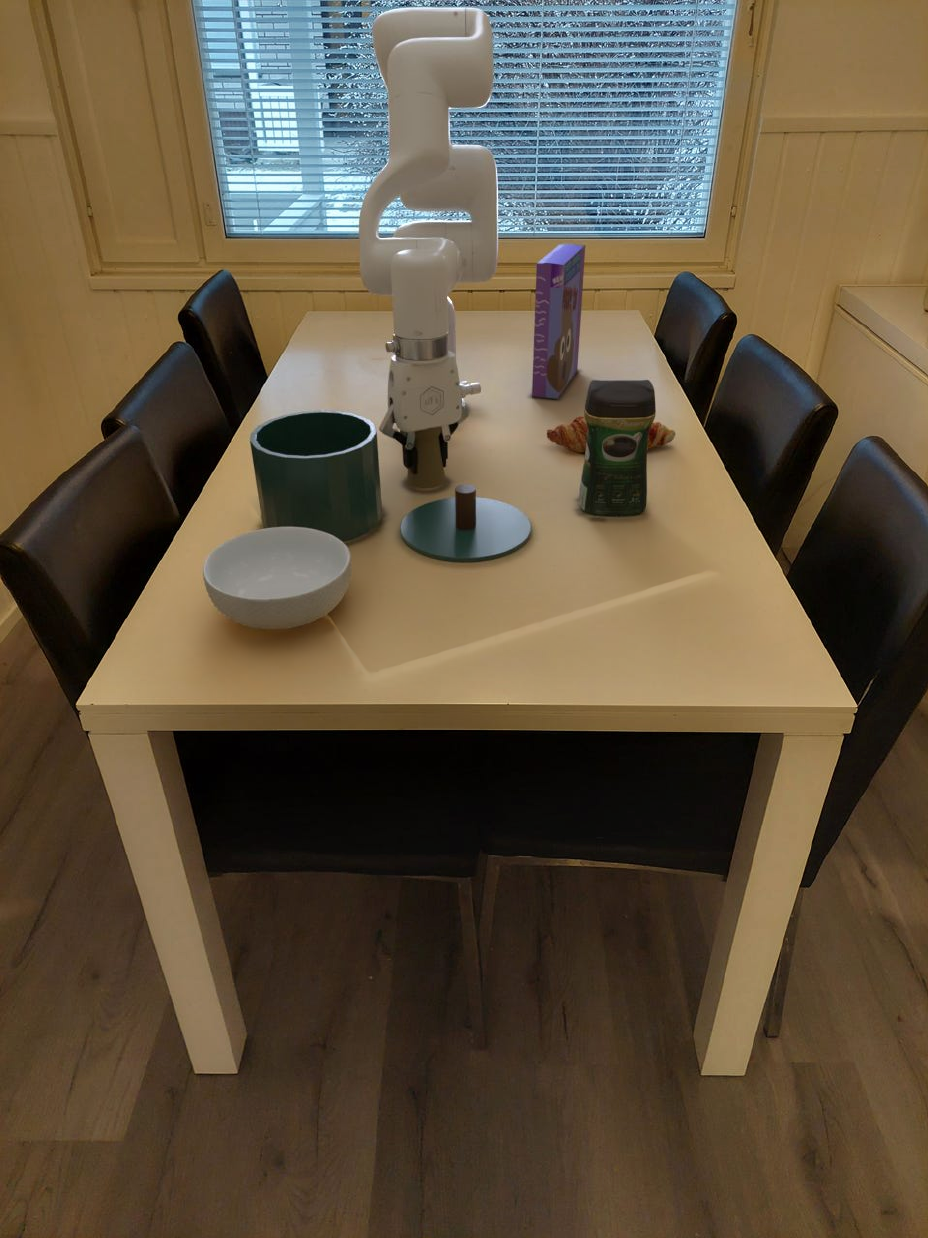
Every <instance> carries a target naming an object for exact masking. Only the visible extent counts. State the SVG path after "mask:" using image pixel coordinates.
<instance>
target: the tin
mask: <svg viewBox="0 0 928 1238" xmlns="http://www.w3.org/2000/svg"><path fill="white" fill-rule="evenodd" d="M249 443H250V450H251V456H252V463H253V470H254V476H255V484H256V489H257V494H258V497H257V498H258V502H259V509H260V515H261V522H262V526H263V529H265V528H274V527H303V528H310V529H315V530H319V531H322V532H325V533H328V534H331V535H333V536H335V537H336V538H338V539H339V540H341V541H342V542H343V543H344V542H348V541H353V540H355V539H358V538H360V537H361V536H364V535H366V534H369V532H371V531H372V530H374V529H375V528H376V527H377V526H378V525H379V524H380V521H381V520H382V517H383V505H382V489H381V488H382V487H381V475H380V460H379V444H378V432H377V427H376V424H374V423H373V422H372V421H371V420H370V419H368V418H367V417H364V416H362V415H359V414H356V413H353V412H347V411H341V410H323V409H321V410H319V409H318V410H309V411H308V410H307V411H297V412H294V413H287V414H284V415H283V414H282V415H281V416H277V417H273V418H271V419H268V420H266V421H265V422H262V423H261V424H259V425H257V426H256V427H255V428H254V430H252V431H251V433H250V437H249Z"/></svg>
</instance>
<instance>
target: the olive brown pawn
mask: <svg viewBox="0 0 928 1238" xmlns="http://www.w3.org/2000/svg"><path fill="white" fill-rule="evenodd" d="M441 429H442V426H440V427H434V428H429V429H425V430H420V431H415V432H414V433H415V440H414V448H416V449H417V453H418V465H417V473H416V474H413V473H411V470H410V468H409V470H408V469H407V475H406V483H407V484H408V485H409V486H410V487H413V488H416V489H423V490H425V489H426V490H427V489H435V488H438V487H441V486H442V485H444V484H445V482H446V473H445V468H443V464H442V458H441V450H440V442H439V435H440V433H441Z"/></svg>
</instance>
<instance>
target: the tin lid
mask: <svg viewBox="0 0 928 1238" xmlns="http://www.w3.org/2000/svg"><path fill="white" fill-rule="evenodd" d="M531 531H532V524H531V521H530V519H529V517H528V516H527V515H526V514H525V513H524V512H523V511H522V510H520V509H519V508H517V507H515V506H513V504H509V503H506V502H503V501H500V500H496V499H493V498H487V497H479V496H478V497H477V488H476V487H475V486H474V485H471V484H460V485H459V484H458V485H457V486H456V487H455V488H454V497H447V498H441V499H436V500H433V501H429V502H426V503H424V504H422V505H419V506H417V507H415V508H414V509H412V510H411V511H409V512H408V513H407V514H406V515H405V516H404V518H403V519H402V521H401V524H400V535H401V538H402V540H403V541H404V543H405V544H406V545H407V546H408V547H409V548H410V549H411V550H413V551H415V552H417V553H418V554H421V555H423V556H426V557H428V558H432V559H436V560H441V561H447V562H453V563H454V562H457V563H474V562H475V563H476V562H483V561H490V560H494V559H495V560H496V559H499V558H502V557H505V556H507V555H510V554H512V553H514V552H517V550H519V549H520V548H522V547H523V546H524V545H526V544H527V542H528V540H529V539H530V536H531V535H532V534H531V533H532V532H531Z"/></svg>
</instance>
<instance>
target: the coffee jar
mask: <svg viewBox="0 0 928 1238" xmlns="http://www.w3.org/2000/svg"><path fill="white" fill-rule="evenodd" d="M655 392H656V391H655V387H654V385H653V383H652V382H651V381H650V380H649V379H641V380H639V379H638V380H635V379H634V380H633V379H631V380H626V379H621V380H617V379H616V380H612V379H611V380H602V379H601V380H600V379H599V380H598V379H592V380H590V382H589V384H588V386H587V392H586V398H585V401H584V402H585V403H584V406H583V416H584V417H585V420H586V423H587V444H586V453H585V452H584V453H585V454H584V459H583V466H582V472H581V478H580V484H579V492H578V506H579V508H580V510H581V511H582V512H584V513H585V514H587V515H589V516H594V517H595V516H596V517H609V518H610V517H613V518H617V517H618V518H619V517H620V518H621V517H623V518H624V517H637V516H639V515H641V514H642V513H644V512H645V510H646V509H647V503H648V502H647V501H648V473H647V472H648V469H647V467H648V465H647V464H648V463H647V462H648V449H647V442H648V433H649V429H650V426H651V425H652V423H654V421H655V418H656V414H657V409H656V394H655Z"/></svg>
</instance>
